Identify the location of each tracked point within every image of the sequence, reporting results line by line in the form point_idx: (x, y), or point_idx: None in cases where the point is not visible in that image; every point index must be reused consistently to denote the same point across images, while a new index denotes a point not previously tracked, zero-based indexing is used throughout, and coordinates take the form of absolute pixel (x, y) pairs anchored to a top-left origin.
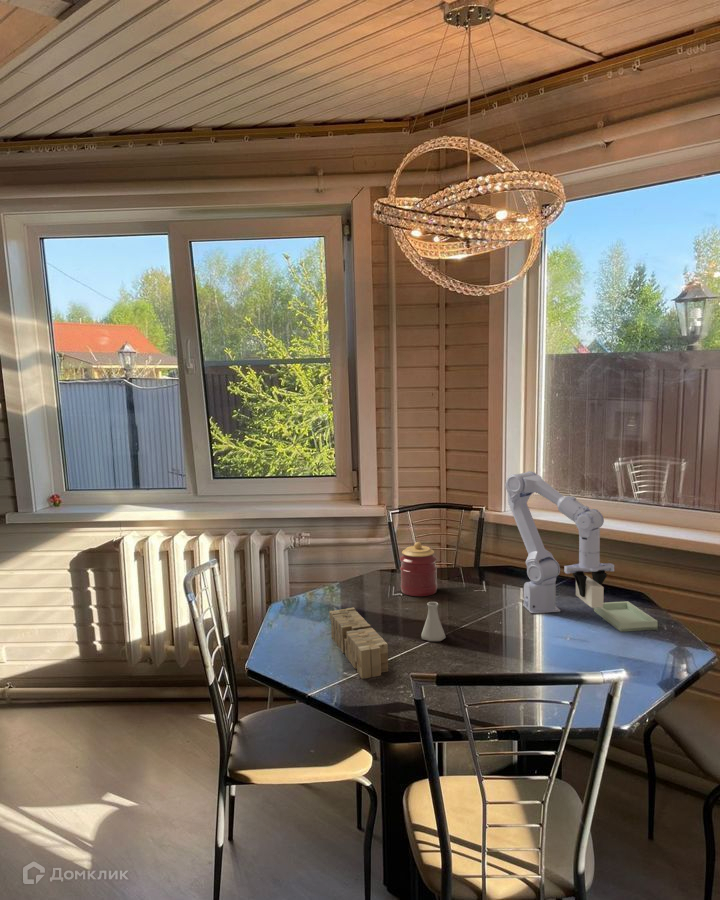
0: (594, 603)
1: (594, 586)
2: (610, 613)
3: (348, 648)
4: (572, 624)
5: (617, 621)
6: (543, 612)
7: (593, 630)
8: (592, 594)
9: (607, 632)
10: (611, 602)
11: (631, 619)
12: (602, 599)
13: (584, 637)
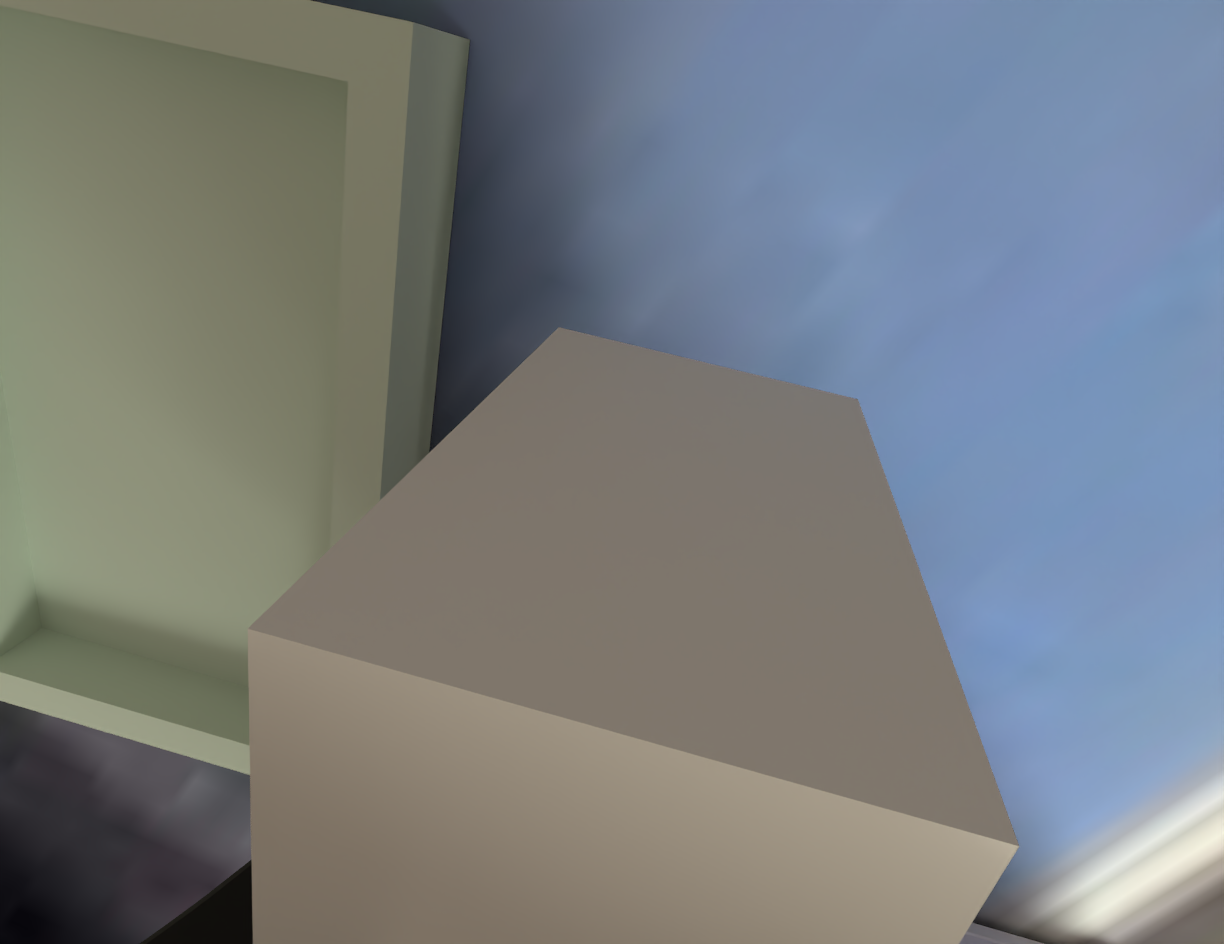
0: (790, 418)
1: (713, 889)
2: (342, 466)
3: None
4: (927, 545)
5: (409, 153)
6: (983, 928)
7: (818, 249)
8: (893, 579)
9: (674, 94)
10: (150, 738)
11: (127, 312)
12: (530, 395)
13: (1201, 29)
